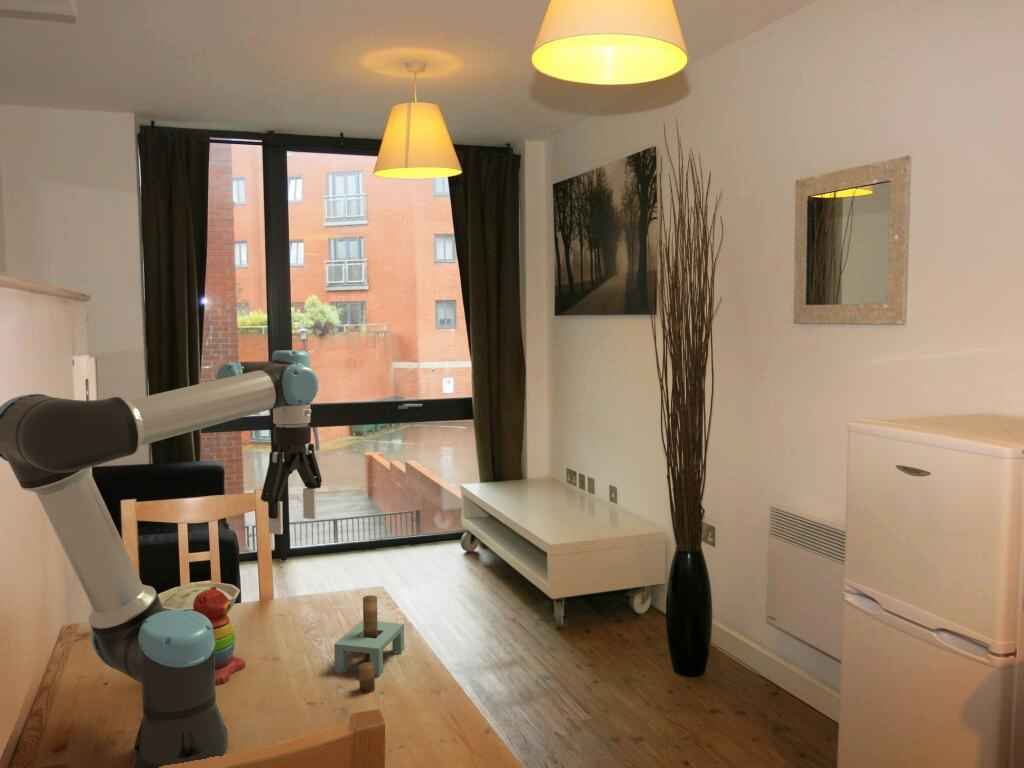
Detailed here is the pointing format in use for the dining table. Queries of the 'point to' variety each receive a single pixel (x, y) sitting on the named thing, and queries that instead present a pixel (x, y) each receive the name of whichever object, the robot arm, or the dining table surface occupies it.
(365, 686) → the short pin
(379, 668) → the green stand with hole
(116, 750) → the dining table surface
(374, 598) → the long pin
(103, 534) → the robot arm
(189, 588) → the bowl
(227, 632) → the stacking bear
